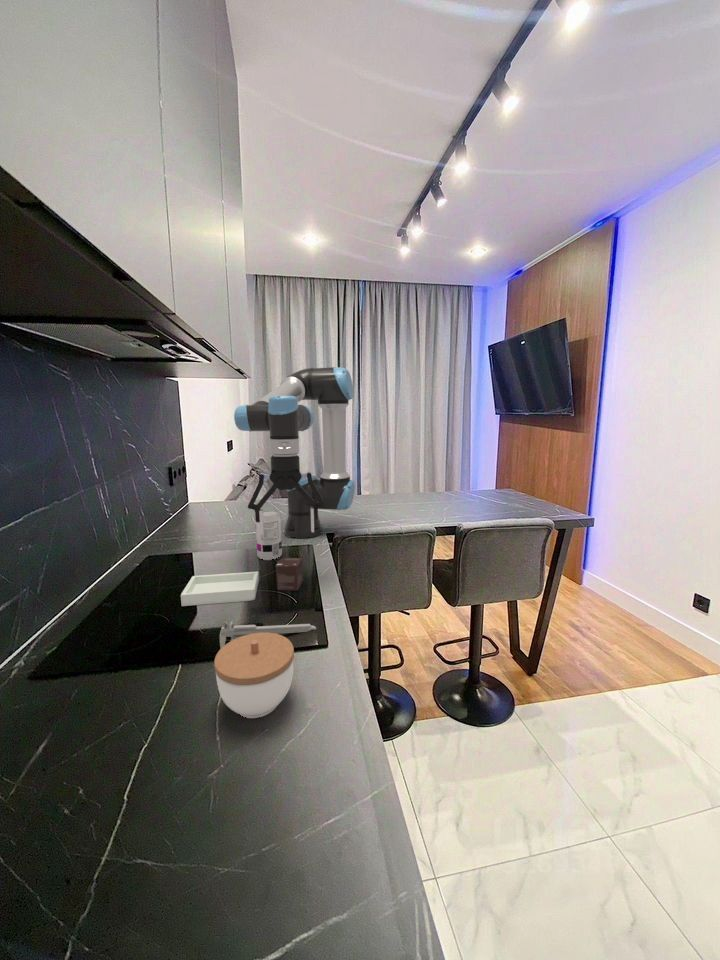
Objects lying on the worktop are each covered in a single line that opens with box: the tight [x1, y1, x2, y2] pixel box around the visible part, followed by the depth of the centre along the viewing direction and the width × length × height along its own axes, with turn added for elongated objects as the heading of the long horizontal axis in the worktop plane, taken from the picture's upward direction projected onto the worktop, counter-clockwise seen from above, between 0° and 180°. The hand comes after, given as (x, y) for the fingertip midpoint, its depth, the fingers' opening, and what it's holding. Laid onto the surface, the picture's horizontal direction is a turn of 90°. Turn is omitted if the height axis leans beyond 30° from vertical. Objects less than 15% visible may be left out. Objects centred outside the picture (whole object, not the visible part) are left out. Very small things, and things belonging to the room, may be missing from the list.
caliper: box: [219, 620, 317, 650], centre depth 84 cm, size 20×1×6 cm, turn 115°
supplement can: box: [255, 510, 283, 561], centre depth 132 cm, size 8×8×15 cm
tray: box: [180, 571, 260, 607], centre depth 106 cm, size 12×18×3 cm, turn 100°
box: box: [275, 557, 304, 591], centre depth 110 cm, size 6×6×7 cm
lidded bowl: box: [213, 632, 295, 719], centre depth 65 cm, size 13×13×11 cm
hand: (287, 532), depth 108 cm, fingers open, 13 cm apart
